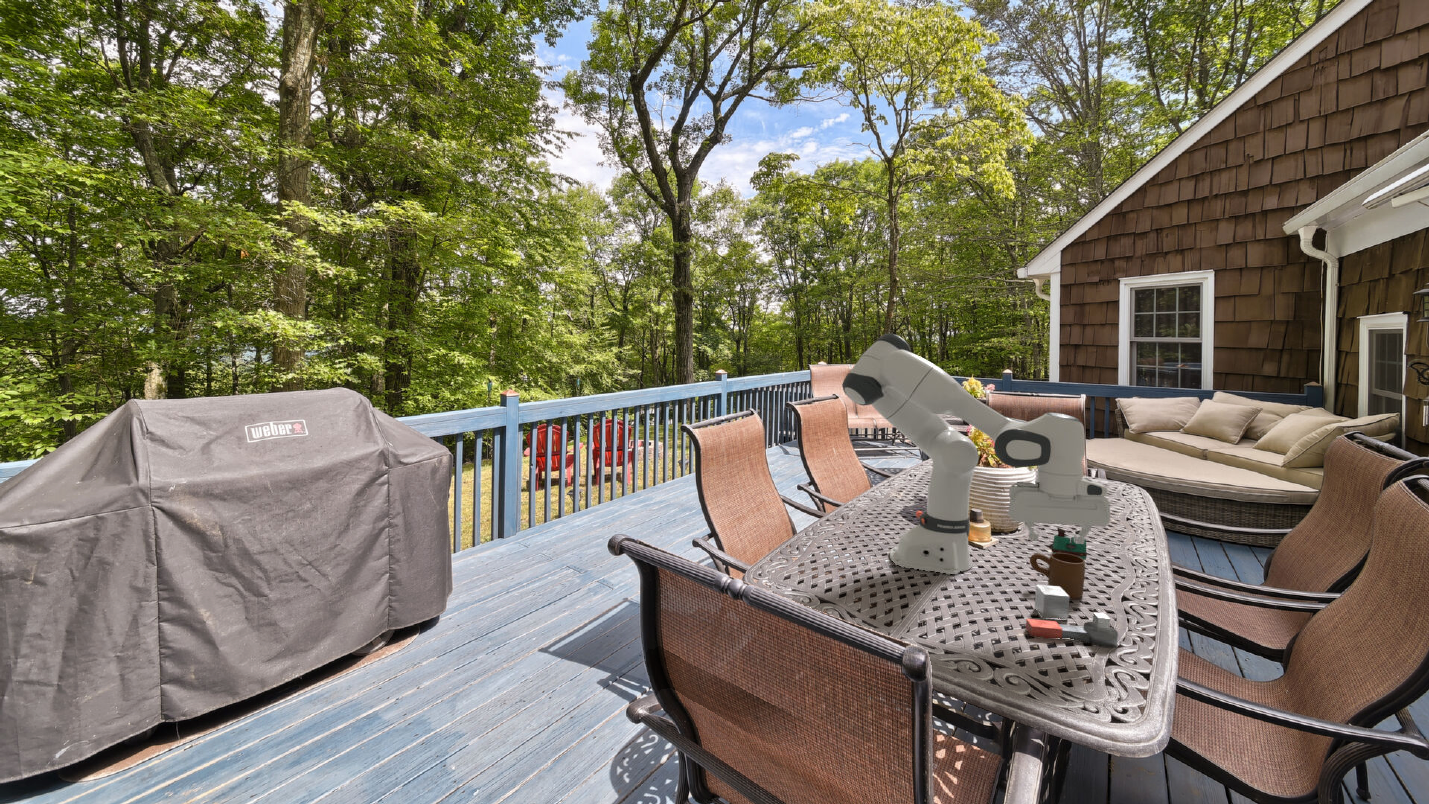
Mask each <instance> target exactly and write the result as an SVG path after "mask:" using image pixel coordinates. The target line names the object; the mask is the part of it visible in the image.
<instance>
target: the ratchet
mask: <svg viewBox="0 0 1429 804" xmlns="http://www.w3.org/2000/svg"><path fill="white" fill-rule="evenodd" d="M1092 615H1093V616H1092V621H1086V622H1084V624H1083V626H1082V625H1071V624H1062V623H1061V624H1060V623H1058V622H1057V620H1047V619H1033V618H1026V619H1025V630H1026V629H1027V630H1028V631H1027V630H1026V631H1027V633H1028V632H1029V633H1030V634H1029V633H1028V634H1029V636H1030V635H1031V636H1036V637H1035V638H1038V637H1043V638H1042V639H1048V638H1060V639H1062V638H1070V639H1074V640H1078V641H1077V642H1086V643H1090V644H1093V645H1095V646H1097V647H1102V648H1108V649H1109V648H1110V649H1112V648H1115V647H1117V645H1118V636H1119V632H1118V630H1116V629H1115V628H1114V627H1112V626H1110V625H1111V624H1110V623H1111V618H1110V617H1109V616H1108V615H1107V614H1106V613H1103V612H1102V613H1101V612H1093V614H1092ZM1031 636H1030V637H1031ZM1062 640H1063V639H1062ZM1074 640H1073V641H1074Z"/></svg>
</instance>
